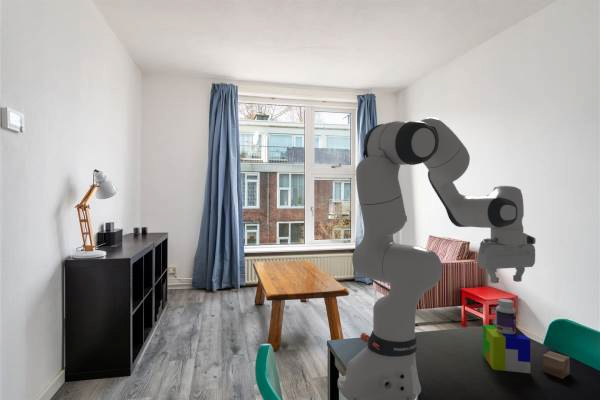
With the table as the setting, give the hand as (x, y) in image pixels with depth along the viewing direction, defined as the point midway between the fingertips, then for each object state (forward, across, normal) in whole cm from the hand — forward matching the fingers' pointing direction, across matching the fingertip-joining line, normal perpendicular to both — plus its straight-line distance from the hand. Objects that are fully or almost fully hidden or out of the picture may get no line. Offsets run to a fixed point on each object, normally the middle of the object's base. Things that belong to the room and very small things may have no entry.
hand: (506, 282), depth 107 cm
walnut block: (+26, +10, -9) cm, 29 cm away
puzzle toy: (+26, 0, 0) cm, 26 cm away
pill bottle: (+16, 0, 0) cm, 16 cm away
